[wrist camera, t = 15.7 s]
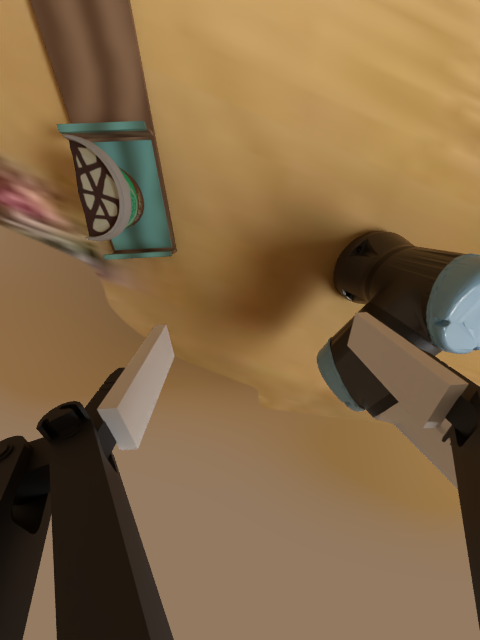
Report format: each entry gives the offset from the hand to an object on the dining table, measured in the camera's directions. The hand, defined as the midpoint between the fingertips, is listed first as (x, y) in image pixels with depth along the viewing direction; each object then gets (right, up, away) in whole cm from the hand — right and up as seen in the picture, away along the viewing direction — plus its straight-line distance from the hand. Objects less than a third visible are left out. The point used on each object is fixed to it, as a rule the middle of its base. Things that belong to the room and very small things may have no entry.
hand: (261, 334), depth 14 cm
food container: (-20, +22, +21) cm, 37 cm away
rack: (-21, +30, +18) cm, 41 cm away
